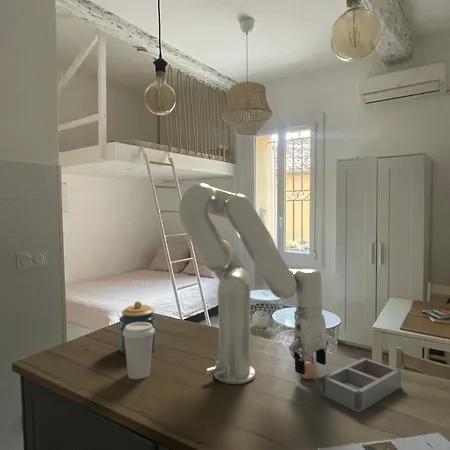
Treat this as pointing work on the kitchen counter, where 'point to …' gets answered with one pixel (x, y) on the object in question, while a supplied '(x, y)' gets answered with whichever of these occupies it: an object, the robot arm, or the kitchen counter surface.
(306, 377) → the ball
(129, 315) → the canister
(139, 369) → the coffee cup
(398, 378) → the divided tray
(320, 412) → the kitchen counter surface
